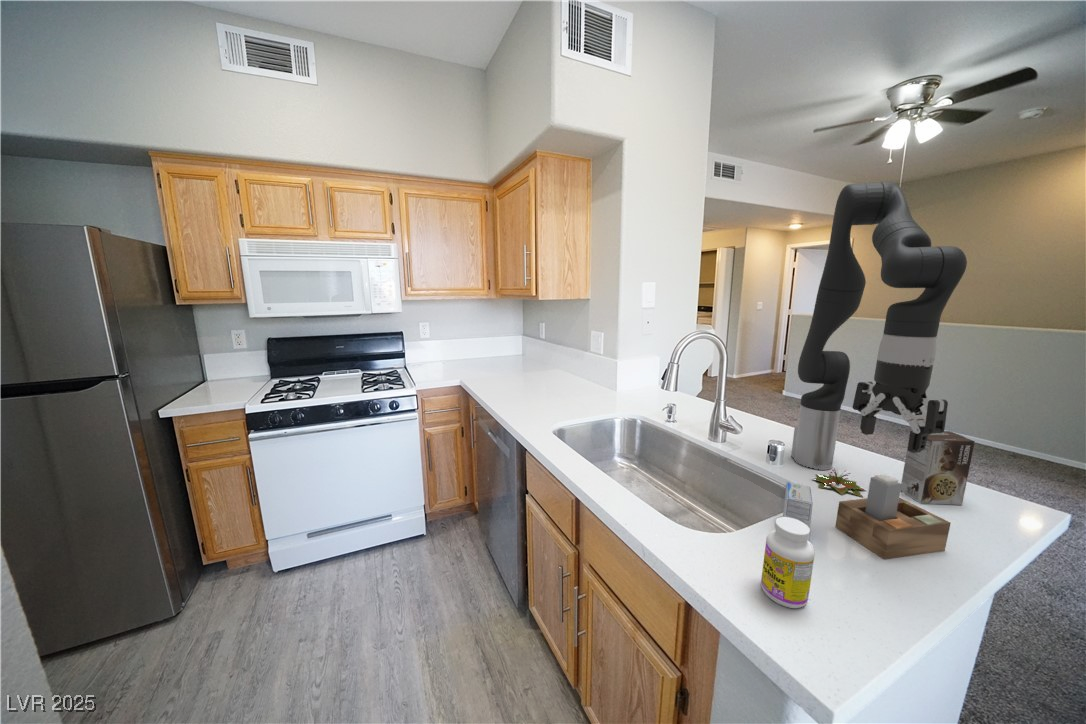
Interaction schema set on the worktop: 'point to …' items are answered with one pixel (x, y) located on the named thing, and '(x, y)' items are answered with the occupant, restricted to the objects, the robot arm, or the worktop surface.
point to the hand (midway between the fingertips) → (889, 442)
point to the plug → (883, 497)
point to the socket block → (893, 529)
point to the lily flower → (838, 481)
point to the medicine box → (798, 503)
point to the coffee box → (938, 469)
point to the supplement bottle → (788, 563)
